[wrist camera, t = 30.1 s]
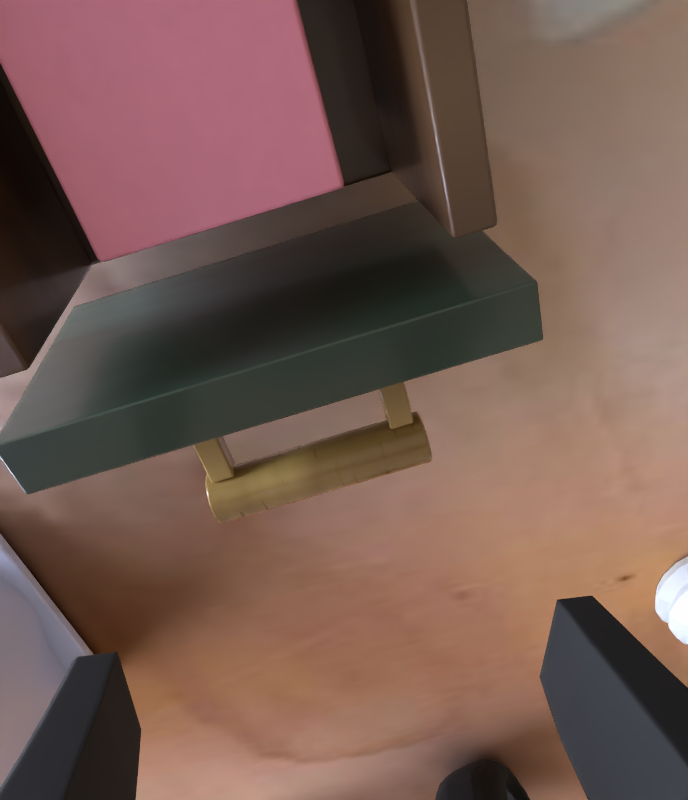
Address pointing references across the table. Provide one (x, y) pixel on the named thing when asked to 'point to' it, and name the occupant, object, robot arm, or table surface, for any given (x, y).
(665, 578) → the rook chess piece
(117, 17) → the block
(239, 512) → the drawer
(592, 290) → the table surface
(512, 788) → the controller
